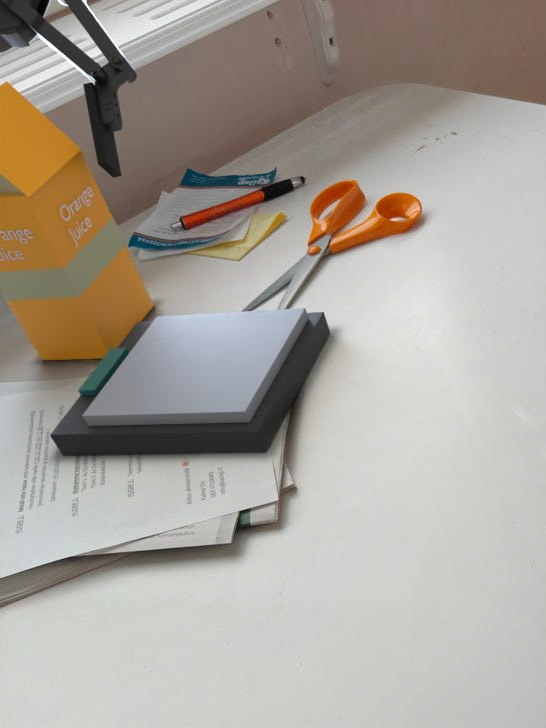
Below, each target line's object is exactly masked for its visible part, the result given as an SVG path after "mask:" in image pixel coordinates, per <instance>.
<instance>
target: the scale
mask: <svg viewBox="0 0 546 728" xmlns="http://www.w3.org/2000/svg"><path fill="white" fill-rule="evenodd" d="M330 335H331V330H330V327H329V323H328V321H327V318H326V314H325V312H324V311H315V312H308V311H307V309H306V308H305V307H301V308H300V307H297V308H284V309H283V308H280V309H268V310H267V309H265V310H250V311H249V310H248V311H247V310H246V311H230V312H214V313H213V312H212V313H211V312H210V313H196V314H195V313H194V314H177V315H161V316H155V318H154V319H153V321H141V322H137V323H136V324H135V325H134V327H133V328H132V329H131V331H130V332H129V333H128V334H127V336H126V337H125V338H124V340H123V341H122V342H121V343H120V345H119V346H118V347H117V348H111V349H110V350H109V351H108V352H107V354H106V355H105V356H104V358H103V359H101V360H100V362H99V363H98V364H97V365H96V366H95V367H94V369H93V370H92V371H91V373H90V374H89V375H88V376H87V378H86V379H85V381H84V382H83V383H82V384H81V386H80V387H79V388H78V390H77V391H78V393H79V396H78V398H76V400H75V402H74V403H73V404H72V405H71V407H70V408H69V409H68V411H67V413H65V414H64V416H63V417H62V419H61V420H60V421H59V422H58V424H57V425H56V426H55V427H54V429H53V430H52V432H51V433H50V434H49V436H50V438H51V440H52V441H53V443H54V445H55V446H56V447H57V449H58V451H59V452H60V454H61V455H62V456H84V455H85V456H87V455H88V456H89V455H91V456H94V455H95V456H97V455H98V456H99V455H100V456H101V455H159V454H162V455H164V454H165V455H167V454H172V455H173V454H175V455H176V454H230V453H231V454H236V453H237V454H238V453H239V454H240V453H241V454H242V453H243V454H245V453H246V454H247V453H248V454H249V453H267V452H268V450H269V448H270V446H271V445H272V442H273V441H274V439H275V437H276V435H277V434H278V432H279V430H280V428H281V425H282V424H283V422H284V420H285V419H286V417H287V414H288V413H289V411H290V409H291V408H292V405H293V403H294V401H295V400H296V399H297V396H298V394H299V393H300V391H301V388H302V387H303V385H304V383H305V381H306V379H307V378H308V375H309V374H310V372H311V370H312V368H313V366H314V364H315V363H316V361H317V359H318V357H319V355H320V354H321V351H322V349H323V348H324V346H325V344H326V342H327V341H328V338H329V337H330Z"/></svg>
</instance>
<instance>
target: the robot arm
mask: <svg viewBox="0 0 546 728" xmlns="http://www.w3.org/2000/svg"><path fill="white" fill-rule="evenodd" d="M57 1H58V2H59V3H60V4H61V5H63V6H67V7H68V8H69V9H70V11H71V12H72V13H73V15H74V16H75V18H76V20H78V22H79V23H80V25H82V28H83V29H84V30H85V31H86V33H87V34H88V35H89V38H90V39H92V41H93V43H94V44H95V45H96V47H97V48H98V49H99V51H100V52H101V53H102V55H103V56H104V57H105V59H106V60H107V63H106V64H104V65H101V64H100V63H99V62H97V61H95V60H94V59H93V58H92V57H90V56H89V55H88V54H87V53H86V52H85V51H83V50H82V49H81V48H80V47H78V45H76V44H75V43H73V42H72V41H71V40H70V39H69V38H68V37H67V36H66V35H64V34H63V33H62V32H61V31H59V30H58V29H57V28H56V27H55V26H54V25H52V24H51V23H50V22H49V21H47V20H46V18H45V15H46V13H47V11H48V8H49V6H50V4H51V0H0V54H1V53H5V52H7V51H9V50H11V49H12V48H21V49H22V48H26V47H30V46H31V42H32V41H33V40H35V38H36V37H37V38H39V39H40V40H41V41H43V42H44V43H45V44H46V45H47V46H48V47H50V48H51V49H53V51H55V52H56V53H58V54H59V55H60V56H61V57H62V58H63V59H65V60H66V61H67V62H68V63H69V64H71V65H72V67H74V69H75V68H76V70H78V71H79V72H80V73H81V74H82V75H83V76H85V78H87V79H88V80H90V82H86V83H83V84H82V86H83V91H84V95H85V102H86V107H87V108H86V109H87V112H88V118H89V124H90V128H91V129H90V130H91V134H92V139H93V145H94V151H95V157H96V161H97V165H98V166H99V167H100V168H101V169H103V170H104V171H105V172H106V173H107V174H108V175H109V176H111V177H112V178H113V179H114V178H119V177H122V171H121V164H120V160H119V159H120V158H119V155H118V148H117V143H116V137H115V132H119V131H122V129H123V118H122V117H123V116H122V113H121V107H120V102H119V101H120V100H119V95H118V91H119V89H120V88H121V87H122V86H123V85H125V84H126V83H128V84H132V83H134V82H136V81H137V78H138V73H137V72H136V71H137V70H135V69H134V67H133V65H132V64H131V63H130V62H129V60H128V59H127V57H126V56H125V55H124V53H123V52H122V50H121V49H120V48H119V46H118V45H117V43H116V42H115V41H114V40H113V38H112V37H111V35H110V34H109V32H108V31H107V30H106V28H105V27H104V26H103V24H102V23H101V22H100V20H99V19H98V18H97V16H96V15H95V13H94V12H93V10H92V9H91V8H90V7H89V5H88V3H87V0H57Z"/></svg>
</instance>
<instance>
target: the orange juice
mask: <svg viewBox="0 0 546 728" xmlns="http://www.w3.org/2000/svg"><path fill="white" fill-rule="evenodd" d="M142 279H143V278H142V277H141V275H140V273H139V271H138V269H137V266H136V264H135V262H134V261H133V258H132V256H131V254H130V252H129V250H128V247H127V244H126V241H125V240H124V237H123V235H122V233H121V231H120V229H119V226H118V224H117V223H116V221H115V218H114V217H113V216H112V214H111V211H110V209H109V206H108V205H107V202H106V201H105V198H104V197H103V194H102V191H101V190H100V188H99V186H98V184H97V181H96V179H95V177H94V175H93V173H92V170H91V169H90V167H89V164H88V162H87V160H86V158H85V156H84V154H83V152H82V148H81V147H80V146H78V144H76V143H75V142H74V141H73V140H72V139H71V138H70V137H69V136H68V135H66V134H65V132H63V131H62V130H61V129H60V128H59V127H58V126H56V124H54V123H53V122H52V121H51V120H50V119H49V118H48V117H47V116H45V114H43V113H42V112H41V111H40V110H39V109H38V108H37V107H36V106H34V104H33V103H31V102H30V101H29V100H28V99H27V98H26V97H25V96H24V95H23V94H21V93H20V92H19V91H18V90H17V89H16V88H15V87H14V86H12V85H11V83H10V82H8V81H7V80H5V82H4V83H2V84H0V293H1V295H2V296H3V299H4V300H5V301H6V302H7V304H8V306H9V307H10V310H11V311H12V313H13V314H14V316H15V318H16V320H17V321H18V323H19V324H20V326H21V328H22V329H23V331H24V333H25V336H26V337H27V338H28V340H29V341H30V343H31V345H32V346H33V349H34V350H35V351H36V353H37V355H38V356H39V358H40V360H41V361H67V360H98V359H101V360H102V359H103V358H104V356H105V355H106V354H107V352H108V351H109V350H110V349H111V348H117V347H118V346H119V345H120V343H121V342H122V341H123V340H124V338H125V337H126V336H127V334H128V333H129V332H130V331H131V329H132V328H133V327H134V325H135V324H136V323H137V322H143V320H144V318H145V317H147V315H148V313H149V312H150V311H151V310H152V309H153V307H155V306H154V302H153V301H152V298H151V296H150V294H149V292H148V290H147V288H146V286H145V284H144V282H143V280H142Z"/></svg>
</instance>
